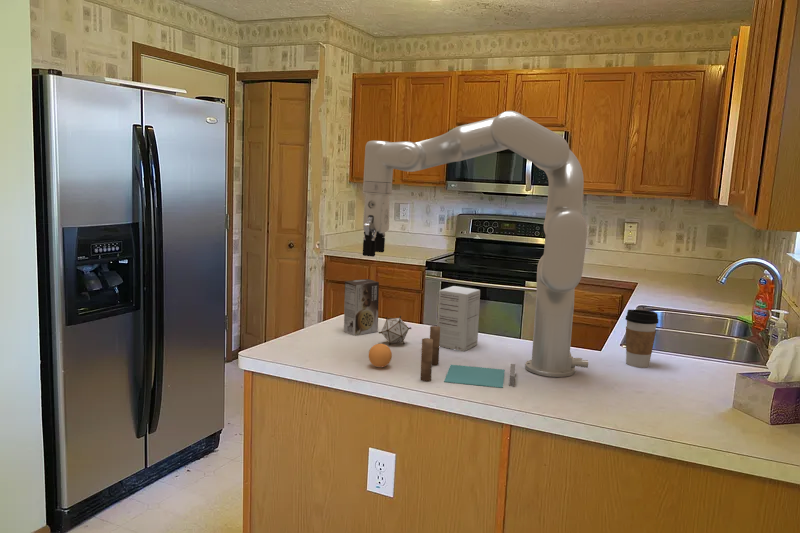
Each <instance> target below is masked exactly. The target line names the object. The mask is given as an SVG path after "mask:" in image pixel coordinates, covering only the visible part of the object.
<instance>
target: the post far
mask: <svg viewBox="0 0 800 533" xmlns="http://www.w3.org/2000/svg"><path fill="white" fill-rule="evenodd" d="M429 338H430V339H433V350H432V367H433V366H439V363H440V362H439V361H440V360H439V359H440V347H439V344H440V327H439V326H438V325H431V326H430V327H429Z"/></svg>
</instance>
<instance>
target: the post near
mask: <svg viewBox="0 0 800 533" xmlns="http://www.w3.org/2000/svg"><path fill="white" fill-rule="evenodd" d="M432 350H433V339H430V337H429V338H428V337H425V338H422V339H421V357H420V379H419V380H420V381H422V382H431V381H432V373H433V372H432V367H433V366H432Z"/></svg>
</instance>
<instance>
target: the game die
mask: <svg viewBox="0 0 800 533" xmlns="http://www.w3.org/2000/svg"><path fill="white" fill-rule="evenodd" d="M384 318H385V321H384V325H383V327H382V329H381V331H378V334H382V336H384V338H385V339H386V340H387V342H388V346H391V344H394V343H402V344H404V345H405V343H406V342H405V338H406V336H407V334H408V332H409V331H410V330H412V327H411V326H410V327H409V326H407V324H406V323H405V322H404V321H403V319H401V318H402V315H399V317H396V318H394V317H393V318H388V316H387V317H386V316H385V317H384Z"/></svg>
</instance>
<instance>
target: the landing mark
mask: <svg viewBox="0 0 800 533" xmlns="http://www.w3.org/2000/svg"><path fill="white" fill-rule="evenodd" d="M504 380H505V369H502V368H501V369H500V368H492V367H491V368H490V367H481V366H471V365H469V366H468V365H461V364H450V365H449V368H448V370H447V373H446V376H445V378H444V380H443V382H444V383H450V384H459V385H468V386H469V385H470V386H478V387H488V388H498V389H503V388H504Z"/></svg>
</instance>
